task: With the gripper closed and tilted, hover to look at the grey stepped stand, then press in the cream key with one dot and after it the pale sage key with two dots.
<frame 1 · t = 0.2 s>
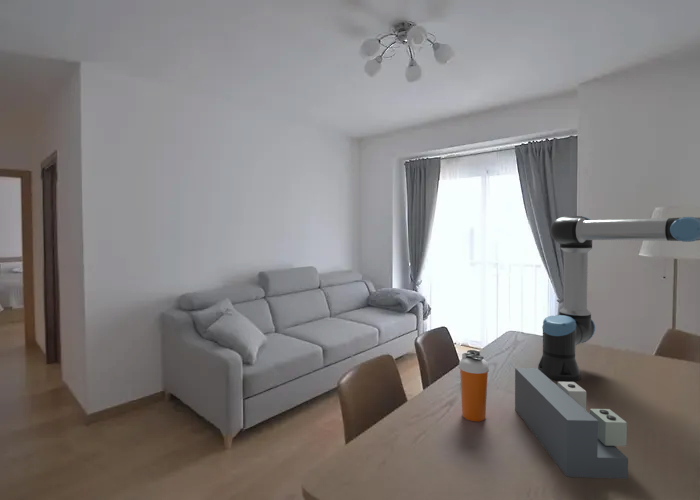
shaker bottle: (473, 416, 119), on the table
key two: (607, 426, 96), point 9 cm above the table, slide at 0.0 cm
supplement bottle: (473, 382, 147), on the table
grey stepped stand: (562, 438, 106), on the table
key one: (571, 395, 114), point 9 cm above the table, slide at 0.0 cm
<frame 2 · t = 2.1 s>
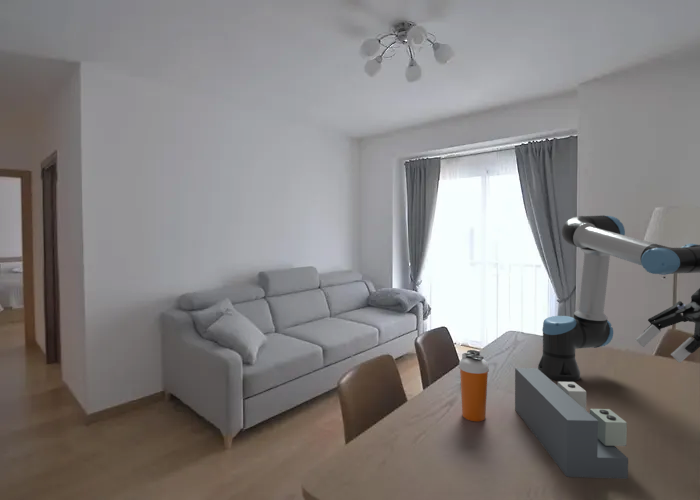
hand: (656, 350, 103), 26 cm above the table, tool tilted 45°, fingers open, 12 cm apart
nothing on the table moved.
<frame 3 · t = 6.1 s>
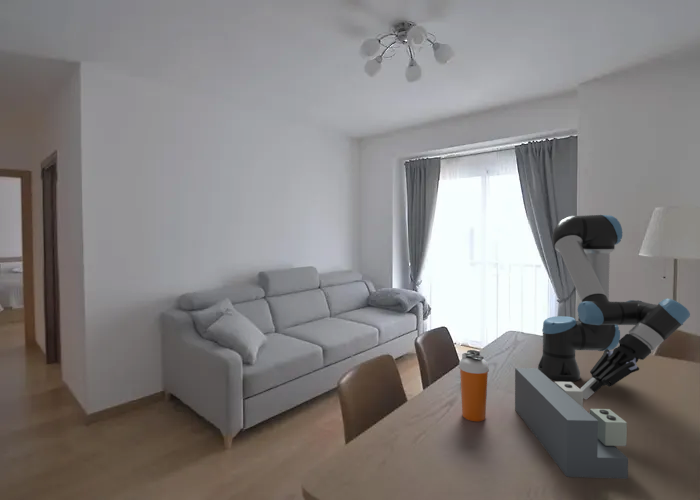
hand: (581, 395, 114), 9 cm above the table, tool tilted 45°, fingers closed
key one: (568, 395, 114), point 9 cm above the table, slide at 0.9 cm, touching gripper
everything else where it was.
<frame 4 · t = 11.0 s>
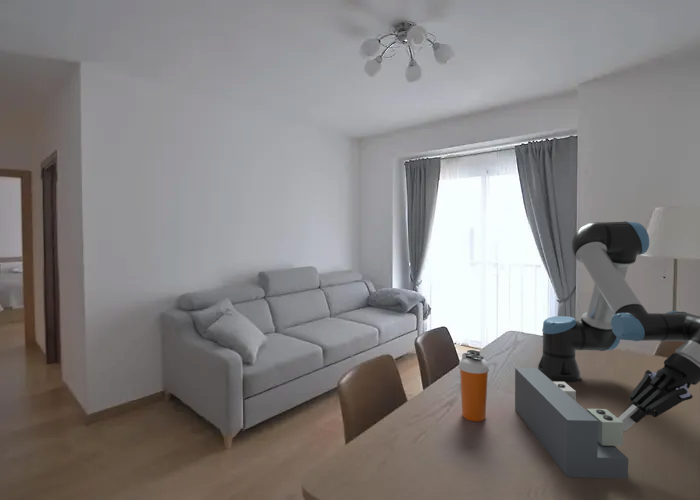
hand: (619, 426, 96), 9 cm above the table, tool tilted 45°, fingers closed
key two: (604, 426, 96), point 9 cm above the table, slide at 0.8 cm, touching gripper
key one: (561, 395, 114), point 9 cm above the table, slide at 3.0 cm
everything else where it was.
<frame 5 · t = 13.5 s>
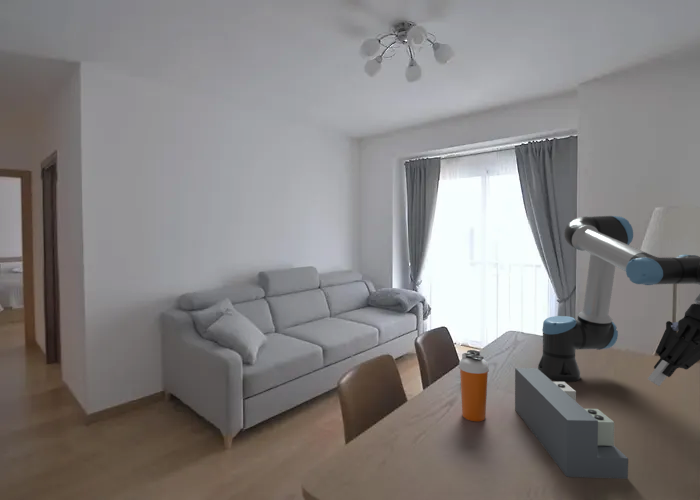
hand: (653, 382, 100), 18 cm above the table, tool tilted 30°, fingers closed
key two: (595, 425, 96), point 9 cm above the table, slide at 3.0 cm
everything else where it was.
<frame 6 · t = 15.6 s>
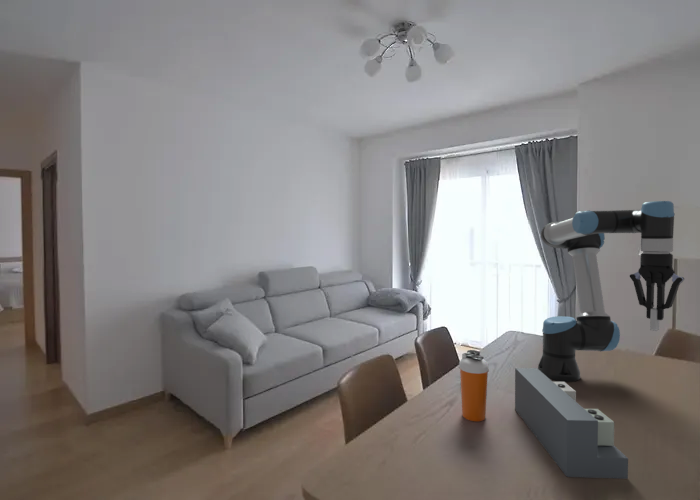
hand: (654, 329, 113), 28 cm above the table, tool pointing down, fingers closed
nothing on the table moved.
at the end: key one slide at 3.0 cm; key two slide at 3.0 cm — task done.
